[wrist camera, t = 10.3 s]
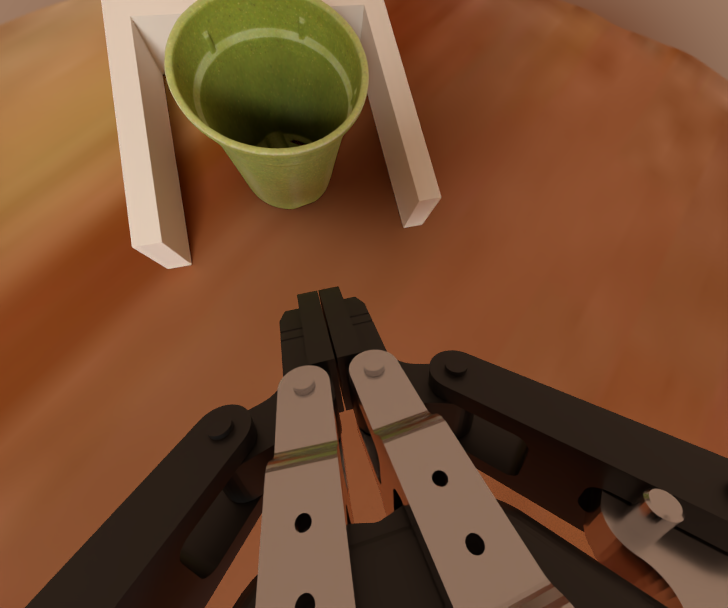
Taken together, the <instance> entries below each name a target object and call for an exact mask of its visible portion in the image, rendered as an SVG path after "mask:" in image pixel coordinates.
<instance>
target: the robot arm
mask: <svg viewBox="0 0 728 608" xmlns="http://www.w3.org/2000/svg"><path fill="white" fill-rule="evenodd" d="M319 296H320V300H319ZM319 296H318V293H317V291H313V292H308V293H303V294H298V295H297V298H298V304H299V309H295V310H290V311H285V312H284V314H283V316H282V318H281V320H280V333H281V334H280V335H281V350H282V365H283V378H282V379H281V381H280V383H279V386H278V390H277V391H276V392H275V394H273V395H272V396H271V397H270V398H269V399H267V400H266V401H264V402H263V403H261V404H259V405H257V406H255V407H253V408H252V409H250V410H247V409H245V408H244V407H242V406H239V405H225V406H221V407H218V408H216V409H214V410H212V411H211V412H209V413H208V414H206V415H205V416H204V417H203V418H202V419H201V420H200V421H199V422H198V423H197V424H196V425H195V426H194V427H193V428H192V429H191V430H190V431H189V432H188V433H187V435H186V436H185V437H184V438H183V439H182V440H181V441H180V442H179V443H178V444H177V445H176V446H175V447H174V448H173V450H172V451H171V452H170V453H169V454H168V455H167V456H166V457H165V458H164V459H163V460H162V461H161V462H160V463H159V465H158V466H157V467H156V468H155V469H154V470H153V471H152V472H151V473H150V474H149V475H148V476H147V477H146V478H145V480H144V481H143V482H142V483H141V484H140V485H139V486H138V487H137V488H136V489H135V490H134V491H133V492H132V493H131V495H130V496H129V497H128V498H127V499H126V500H125V501H124V502H123V503H122V504H121V505H120V506H119V507H118V508H117V509H116V511H115V512H114V513H113V514H112V515H111V516H110V517H109V518H108V519H107V520H106V521H105V522H104V523H103V524H102V526H101V527H100V528H99V529H98V530H97V531H96V532H95V533H94V534H93V535H92V536H91V537H90V538H89V539H88V541H87V542H86V543H85V544H84V545H83V546H82V547H81V548H80V549H79V550H78V551H77V552H76V553H75V554H74V556H73V557H72V558H71V559H70V560H69V561H68V562H67V563H66V564H65V565H64V566H63V567H62V568H61V569H60V571H59V572H58V573H57V574H56V575H55V576H54V577H53V578H52V579H51V580H50V581H49V582H48V583H47V584H46V585H45V587H44V588H43V589H42V590H41V591H40V592H39V593H38V594H37V595H36V596H35V597H34V598H33V599H32V600H31V602H30V603H29V604H28V605H27V606H26V607H25V608H205V606H206V605H207V603H208V601H209V600H210V598H211V596H212V595H213V593H214V591H215V590H216V588H217V586H218V585H219V583H220V581H221V580H222V578H223V576H224V575H225V573H226V571H227V570H228V568H229V566H230V565H231V563H232V562H233V560H234V558H235V557H236V555H237V553H238V552H239V550H240V548H241V547H242V545H243V543H244V542H245V540H246V538H247V537H248V535H249V533H250V532H251V530H252V528H253V527H254V525H255V523H256V522H257V520H258V518H259V517H260V515H261V513H262V524H261V537H260V551H259V565H258V575H257V576H256V577H255V578H254V579H253V580H252V581H251V582H250V584H249V585H248V586H247V587H246V589H245V590H244V591H243V593H242V594H241V595H240V597H239V598H238V600H237V601H236V603H235V605H234V606H233V608H728V458H725V457H723V456H720V455H718V454H715V453H713V452H711V451H708V450H706V449H703V448H701V447H698V446H696V445H693V444H691V443H688V442H686V441H683V440H681V439H678V438H676V437H673V436H671V435H668V434H666V433H663V432H661V431H658V430H656V429H653V428H651V427H648V426H646V425H643V424H641V423H638V422H636V421H633V420H631V419H628V418H626V417H623V416H621V415H618V414H616V413H613V412H611V411H609V410H606V409H604V408H601V407H599V406H596V405H594V404H591V403H589V402H586V401H584V400H581V399H579V398H576V397H574V396H571V395H569V394H566V393H564V392H561V391H559V390H556V389H554V388H551V387H549V386H546V385H544V384H541V383H539V382H536V381H534V380H531V379H529V378H526V377H524V376H521V375H519V374H516V373H514V372H511V371H509V370H507V369H504V368H502V367H499V366H497V365H494V364H492V363H489V362H487V361H484V360H482V359H479V358H477V357H474V356H472V355H469V354H467V353H464V352H460V351H453V350H452V351H444V352H440V353H438V354H437V355H435V356H434V357H433V358H432V360H431V361H430V364H409V363H404V362H401V361H398V360H397V359H396V358H395V357H394V356H393V355H392V354H390V353H388V352H387V351H386V349H385V347H384V344H383V342H382V340H381V338H380V336H379V334H378V332H377V329H376V327H375V325H374V323H373V322H372V319H371V317H370V314H369V312H368V310H367V308H366V306H365V304H364V303H363V302H362V301H360V300H359V299H358V298H356V297H352V298H347V299H343V297H342V295H341V292H340V289H339V287H333V288H328V289H323V290H319ZM320 301H321V304H320ZM321 307H322V308H321ZM339 384H340V385H339ZM340 388H341V390H340ZM341 392H342V396H343V400H344V403H345V407H346V410H350V409H353V410H354V413H355V417H356V421H357V428H358V433H359V435H360V438H361V441H362V444H363V446H364V449H365V452H366V454H367V457H368V460H369V463H370V465H371V468H372V471H373V474H374V476H375V479H376V482H377V485H378V487H379V490H380V494H381V497H382V501H383V505H384V509H385V512H386V516H387V517H385V518H384V519H382V520H381V521H379V522H376V523H356V524H354V520H353V514H352V508H351V502H350V495H349V488H348V481H347V474H346V466H345V459H344V452H343V444H342V437H341V433H342V426H341V421H340V416H339V413H340V412H343V411H344V407H343V402H342V396H341ZM476 468H477V469H478V470H480V471H482V472H483V473H485V474H487V475H488V476H490V477H492V478H493V479H495V480H497V481H499V482H500V483H502V484H504V485H505V486H507V487H509V488H510V489H512V490H514V491H515V492H517V493H519V494H521V495H522V496H524V497H526V498H527V499H529V500H531V501H532V502H534V503H536V504H537V505H539V506H541V507H543V508H544V509H546V510H548V511H549V512H551V513H553V514H554V515H556V516H558V517H559V518H561V519H563V520H565V521H566V522H568V523H570V524H571V525H573V526H575V527H576V528H578V529H580V530H581V531H583V532H585V536H586V539H587V541H588V543H589V545H590V547H591V549H592V550H593V553H594V556H595V558H596V559H597V560H598V561H596V560H595V559H593V558H592V557H590V556H589V555H587V554H586V553H584V552H583V551H581V550H580V549H578V548H577V547H575V546H574V545H572V544H571V543H569V542H567V541H566V540H564V539H563V538H561V537H560V536H558V535H557V534H555V533H554V532H552V531H551V530H549V529H548V528H546V527H545V526H543V525H542V524H540V523H539V522H537V521H535V520H534V519H532V518H531V517H529V516H528V515H526V514H525V513H523V512H522V511H520V510H518V509H517V508H515V507H513V506H511V505H509V504H507V503H505V502H503V501H500V500H497V499H495V497H494V496H493V494H492V493H491V491H490V489H489V488H488V486H487V485H486V483H485V482H484V480H483V479H482V477H481V475H480V474H479V472H478V471H477V469H476Z"/></svg>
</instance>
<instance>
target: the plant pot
mask: <svg viewBox="0 0 728 608" xmlns="http://www.w3.org/2000/svg"><path fill="white" fill-rule="evenodd" d="M164 69H165V75H166V80H167V83H168V86H169V89H170V91H171V93H172V95H173V97H174V99H175V101H176V103H177V105H178V106H179V108H180V109H181V110H182V112H183V113H184V114H185V116H186V117H187V118H188V119H189V120H190V122H191V123H192V124H193V125H194V126H195V127H197V128H198V129H199V130H200V131H201V132H203V133H204V134H205V135H207V136H208V137H209V138H211V139H213V140H214V141H216V142H217V143H218V144H220V145H221V146H222V147H223V149H224V150H225V152H226V153H227V155H228V156H229V158H230V159H231V160H232V162H233V163H234V165H235V166H236V168H237V169H238V170H239V172H240V173H241V175H242V176H243V178H244V179H245V181H246V182H247V184H248V185H249V187H250V188H251V189H252V191H253V192H254V193H255V194H256V195H257V196H258V197H259V198H260V199H262V200H263V201H264V202H266V203H268V204H270V205H272V206H275V207H279V208H284V209H295V208H298V207H301V206H303V205H306V204H309V203H312V202H315V201H316V200H317V199H319V198H320V197H321V196H322V194H323V193H324V192H325V190H326V188H327V186H328V184H329V181H330V178H331V175H332V171H333V167H334V163H335V160H336V156H337V153H338V150H339V147H340V143H341V140H342V137H343V135H344V134H345V133H346V132H347V131H348V130H349V129H350V128H351V127H352V125H353V124H354V123H355V121H356V120H357V118H358V117H359V115H360V113H361V111H362V108H363V106H364V103H365V100H366V96H367V92H368V85H369V69H368V62H367V57H366V54H365V51H364V49H363V47H362V44H361V41H360V40H359V37H358V35H357V34H356V33H355V31H354V30H353V28H352V27H351V26H350V25H349V23H348V22H347V21H346V20H345V19H344V18H343V17H342V16H341V15H340V14H339V13H338V12H337V11H335V10H334V9H333V8H332V7H330V6H329V5H328V4H326V3H325V2H323V1H322V0H197V1H196V2H194V3H193V4H192V5H191V6H189V7H188V8H187V9H186V10H185V11H184V12H183V13H182V14H181V15H180V17H179V18H178V19H177V21H176V22H175V24H174V26H173V28H172V30H171V32H170V34H169V37H168V40H167V43H166V46H165V58H164ZM293 140H296V141H299V142H302V143H304V144H306V145H302V146H300V145H298V144H296V143H291V141H293Z"/></svg>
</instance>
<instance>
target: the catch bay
mask: <svg viewBox="0 0 728 608" xmlns="http://www.w3.org/2000/svg"><path fill="white" fill-rule="evenodd" d="M196 1H197V0H101V3H102V11H103V19H104V27H105V35H106V43H107V51H108V59H109V67H110V75H111V83H112V91H113V99H114V107H115V115H116V123H117V131H118V139H119V147H120V155H121V163H122V171H123V179H124V187H125V195H126V203H127V211H128V219H129V227H130V235H131V243H132V247H133V248H134V249H136V250H138V251H139V252H141V253H143V254H144V255H146V256H148V257H149V258H151V259H152V260H154V261H156V262H157V263H159V264H161V265H162V266H164V267H166V268H167V269H171V268H176V267H182V266H188V265H192V262H191V255H190V249H189V243H188V236H187V230H186V223H185V217H184V210H183V204H182V197H181V191H180V184H179V178H178V171H177V165H176V158H175V152H174V145H173V139H172V133H171V126H170V120H169V113H168V107H167V100H166V94H165V87H164V81H163V74H165V69H164V58H165V46H166V43H167V40H168V37H169V34H170V32H171V30H172V28H173V26H174V24H175V22H176V21H177V19H178V18H179V17H180V15H181V14H182V13H183V12H184V11H185V10H186V9H187V8H188V7H189V6H191V5H192V4H193V3H194V2H196ZM322 1H323V2H325V3H326V4H328V5H329V6H330V7H332V8H333V9H334V10H335V11H337V12H338V13H339V14H340V15H341V16H342V17H343V18H344V19H345V20H346V21H347V22H348V23H349V25H350V26H351V27H352V28H353V30H354V31H355V33H356V34H357V35H358V37H359V40H360V41H361V44H362V47H363V49H364V51H365V54H366V57H367V62H368V69H369V85H368V92H367V94H368V98H369V102H370V106H371V109H372V113H373V117H374V121H375V124H376V128H377V132H378V135H379V139H380V143H381V147H382V150H383V154H384V158H385V162H386V165H387V169H388V173H389V176H390V180H391V184H392V188H393V191H394V195H395V199H396V203H397V206H398V210H399V214H400V217H401V221H402V225H403V228H406V227H412V226H418V225H422V224H423V223H424V221H425V220H426V218H427V217H428V216H429V214H430V213H431V211H432V210H433V209H434V207H435V206H436V204H437V203H438V202H439V200H440V199H441V194H440V191H439V187H438V184H437V180H436V177H435V174H434V170H433V167H432V163H431V160H430V157H429V153H428V150H427V146H426V143H425V139H424V136H423V133H422V129H421V126H420V122H419V119H418V116H417V112H416V109H415V105H414V102H413V99H412V95H411V92H410V88H409V85H408V81H407V78H406V75H405V71H404V68H403V64H402V61H401V58H400V54H399V51H398V47H397V44H396V41H395V37H394V34H393V30H392V27H391V23H390V20H389V17H388V13H387V10H386V6H385V3H384V0H322Z"/></svg>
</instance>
